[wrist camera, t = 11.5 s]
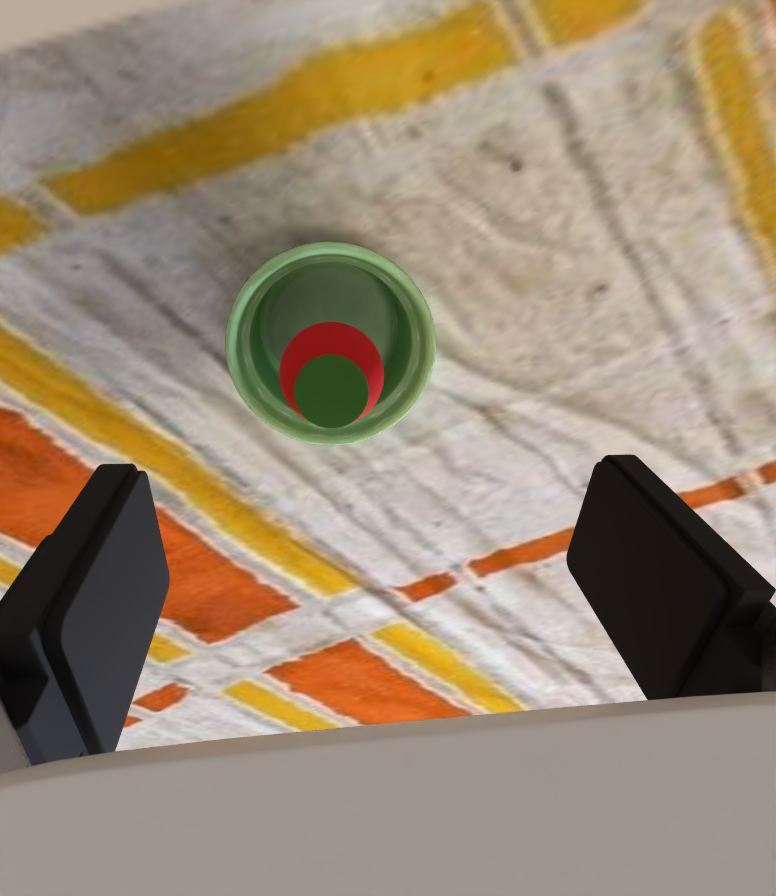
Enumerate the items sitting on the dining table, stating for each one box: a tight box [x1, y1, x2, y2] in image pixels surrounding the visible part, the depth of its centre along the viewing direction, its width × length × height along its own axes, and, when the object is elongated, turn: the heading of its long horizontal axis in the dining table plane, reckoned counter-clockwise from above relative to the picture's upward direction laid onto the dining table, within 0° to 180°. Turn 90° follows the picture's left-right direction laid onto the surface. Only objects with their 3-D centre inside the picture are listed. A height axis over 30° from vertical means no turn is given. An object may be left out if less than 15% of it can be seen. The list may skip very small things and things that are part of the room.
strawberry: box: [279, 322, 384, 428], centre depth 19 cm, size 4×4×5 cm
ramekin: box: [225, 241, 436, 446], centre depth 23 cm, size 9×9×4 cm
